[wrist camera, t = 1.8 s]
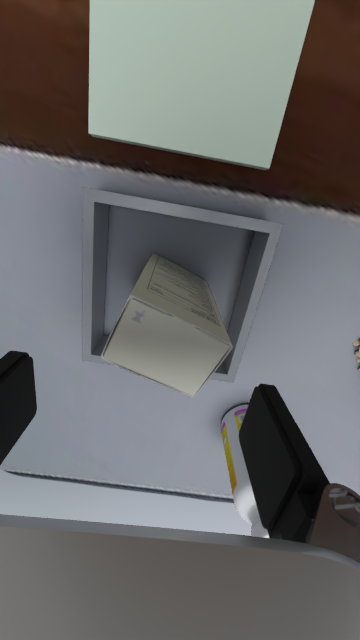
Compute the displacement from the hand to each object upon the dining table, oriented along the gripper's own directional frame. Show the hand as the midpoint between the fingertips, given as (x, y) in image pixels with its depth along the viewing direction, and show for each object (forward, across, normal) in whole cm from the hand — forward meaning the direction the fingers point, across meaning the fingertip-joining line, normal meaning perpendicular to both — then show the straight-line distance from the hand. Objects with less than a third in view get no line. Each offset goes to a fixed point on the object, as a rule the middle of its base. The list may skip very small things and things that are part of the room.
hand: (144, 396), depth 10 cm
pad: (+15, 0, -16) cm, 22 cm away
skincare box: (+16, -1, 0) cm, 16 cm away
